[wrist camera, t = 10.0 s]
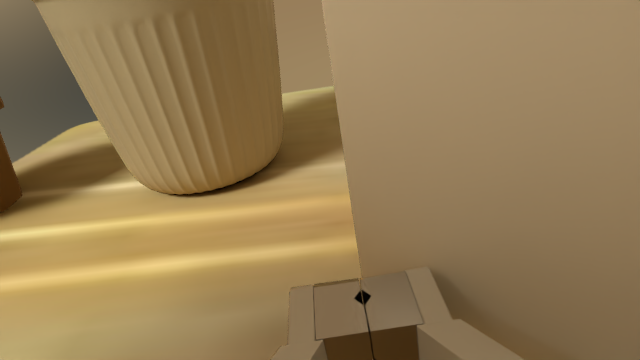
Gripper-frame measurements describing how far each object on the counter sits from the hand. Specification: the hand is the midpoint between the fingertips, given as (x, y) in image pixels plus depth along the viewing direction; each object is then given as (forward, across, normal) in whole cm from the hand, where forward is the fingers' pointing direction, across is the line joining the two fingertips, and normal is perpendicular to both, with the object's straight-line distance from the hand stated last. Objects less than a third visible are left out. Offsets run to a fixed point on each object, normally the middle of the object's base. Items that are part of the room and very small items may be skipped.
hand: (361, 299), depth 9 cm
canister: (+28, +11, +8) cm, 31 cm away
